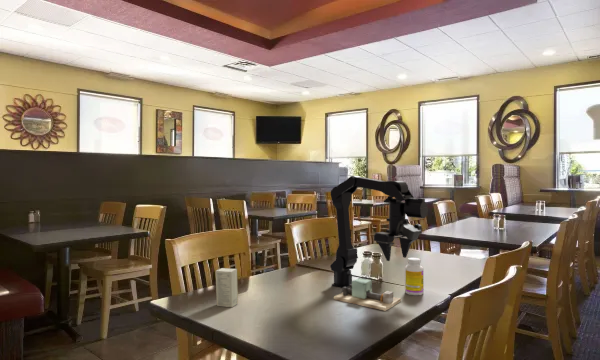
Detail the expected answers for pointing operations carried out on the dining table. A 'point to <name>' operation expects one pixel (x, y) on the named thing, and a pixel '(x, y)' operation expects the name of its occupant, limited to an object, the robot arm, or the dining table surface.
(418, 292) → the supplement bottle
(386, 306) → the cable board
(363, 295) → the mint green cube
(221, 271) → the skincare box
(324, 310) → the dining table surface
